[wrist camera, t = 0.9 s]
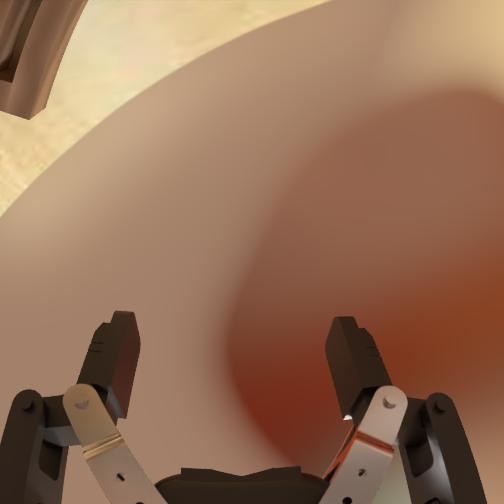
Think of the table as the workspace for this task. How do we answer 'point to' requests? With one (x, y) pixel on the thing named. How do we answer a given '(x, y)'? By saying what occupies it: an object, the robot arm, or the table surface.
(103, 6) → the table surface
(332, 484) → the robot arm
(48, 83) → the slot stand
